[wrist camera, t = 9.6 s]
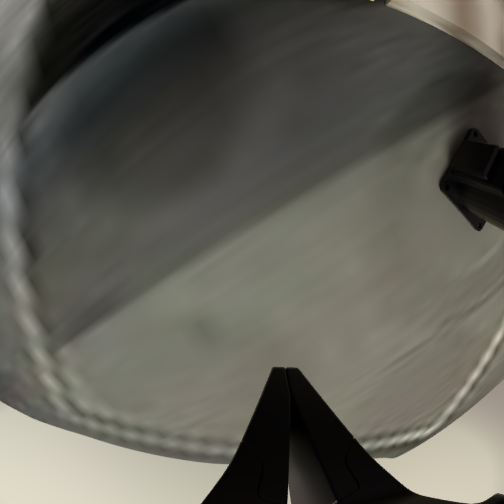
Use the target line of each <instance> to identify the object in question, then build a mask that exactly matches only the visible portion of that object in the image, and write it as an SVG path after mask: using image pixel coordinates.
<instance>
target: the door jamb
mask: <svg viewBox="0 0 504 504" xmlns="http://www.w3.org/2000/svg"><path fill="white" fill-rule="evenodd" d="M371 1H374V0H371ZM385 4H386V6H388V7H391V8H393V9H396V10H398V11H401V12H403V13H406V14H408V15H410V16H413V17H415V18H417V19H419V20H422V21H424V22H426V23H428V24H430V25H432V26H434V27H436V28H438V29H440V30H442V31H444V32H446V33H448V34H449V35H451V36H453V37H455V38H457V39H458V40H460V41H462V42H464V43H465V44H467V45H468V46H470V47H472V48H473V49H475V50H476V51H478V52H480V53H481V54H483V55H484V56H486V57H487V58H489V59H490V60H491V61H493V62H494V63H496V64H497V65H498V66H500V67H501V68H503V69H504V0H385Z"/></svg>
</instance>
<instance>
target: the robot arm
mask: <svg viewBox="0 0 504 504" xmlns="http://www.w3.org/2000/svg"><path fill="white" fill-rule="evenodd" d="M474 134H475V135H474ZM446 185H447V188H446V189H445V186H446ZM440 190H441V192H442V193H443V194H444V195H445V196H446V197H447V198H448V199H449V200H450V201H451V202H452V203H453V205H454V206H455V207H456V208H457V209H458V210H459V211H460V212H461V214H462V215H463V216H464V217H465V218H466V219H467V221H468V222H469V223H470V224H471V225H472V227H473V228H474V229H475V230H477V231H480V230H481V229H482V228H483V226H484V224H485V223H486V221H487V222H489V223H491V224H492V225H494V226H496V227H498V228H500V229H502V230H504V148H500V147H499V146H498V145H493V144H488V143H487V142H486V140H485V139H484V138H483V136H482V135H481V134H480V132H479V131H478V130H477V129H476V128H470V130H469V131H468V133H467V135H466V137H465V139H464V141H463V142H462V144H461V146H460V148H459V150H458V152H457V154H456V156H455V158H454V160H453V161H452V163H451V166H450V168H449V170H448V171H447V173H446V175H445V177H444V178H443V180H442V182H441V184H440ZM478 224H479V225H478ZM353 438H354V437H353V435H352V434H351V433H350V432H349V431H348V429H347V428H346V427H345V426H344V425H343V423H342V422H341V421H340V420H339V418H338V417H337V416H336V415H335V414H334V412H333V411H332V410H331V409H330V407H329V406H328V405H327V404H326V402H325V401H324V400H323V399H322V397H321V396H320V395H319V394H318V392H317V391H316V390H315V389H314V387H313V386H312V385H311V384H310V382H309V381H308V380H307V379H306V377H305V376H304V375H303V374H302V372H301V371H300V370H299V369H298V368H293V367H287V368H284V367H273V368H272V370H271V372H270V375H269V377H268V380H267V382H266V385H265V387H264V390H263V392H262V394H261V397H260V399H259V402H258V404H257V406H256V409H255V411H254V413H253V416H252V418H251V420H250V423H249V425H248V427H247V429H246V432H245V434H244V436H243V438H242V442H241V443H240V445H239V447H238V449H237V451H236V453H235V455H234V457H233V459H232V461H231V463H230V464H229V466H228V467H227V469H226V471H225V472H224V474H223V475H222V477H221V478H220V479H219V481H218V482H217V484H216V485H215V486H214V488H213V489H212V490H211V491H210V493H209V494H208V495H207V497H206V498H205V499H204V501H203V502H202V503H201V504H287V498H288V484H289V491H290V498H291V504H467V503H459V502H453V501H447V500H441V499H436V498H431V497H426V496H422V495H419V494H416V493H414V492H412V491H410V490H409V489H407V488H406V487H405V486H403V485H402V484H401V483H400V482H399V481H398V480H396V479H395V478H394V477H393V476H392V475H391V474H390V473H388V472H387V471H386V470H385V469H383V467H382V466H380V465H379V464H378V463H377V462H376V461H375V460H374V459H373V458H372V457H371V456H370V455H369V454H368V453H367V452H366V450H365V449H364V448H363V447H362V446H361V445H360V444H359V442H358V441H357V440H356V439H355V438H354V439H353ZM476 504H504V495H503V494H499V493H497V494H495V495H493V496H492V497H490V498H489V499H487V500H486V501H484V502H481V503H476Z"/></svg>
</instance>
